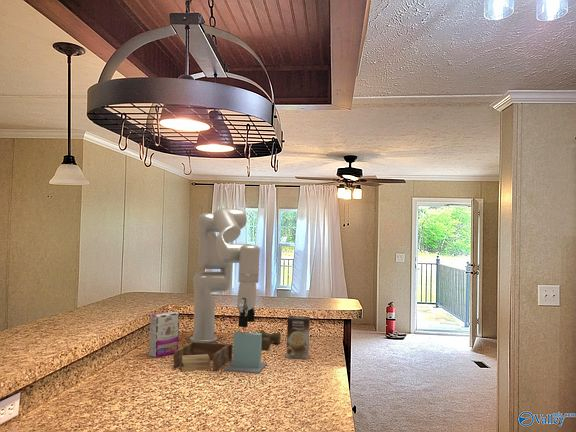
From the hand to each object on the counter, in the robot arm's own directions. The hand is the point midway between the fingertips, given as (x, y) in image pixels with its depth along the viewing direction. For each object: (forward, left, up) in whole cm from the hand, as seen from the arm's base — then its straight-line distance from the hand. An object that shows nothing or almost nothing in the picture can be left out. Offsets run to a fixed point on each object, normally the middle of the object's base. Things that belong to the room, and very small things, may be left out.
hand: (246, 324), depth 171 cm
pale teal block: (0, +1, -15) cm, 15 cm away
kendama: (-37, 0, -16) cm, 41 cm away
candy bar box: (-8, -37, -16) cm, 41 cm away
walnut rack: (+1, -17, -16) cm, 23 cm away
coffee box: (-20, +16, -16) cm, 31 cm away
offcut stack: (+7, -17, -16) cm, 24 cm away
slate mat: (+1, 0, -16) cm, 16 cm away
